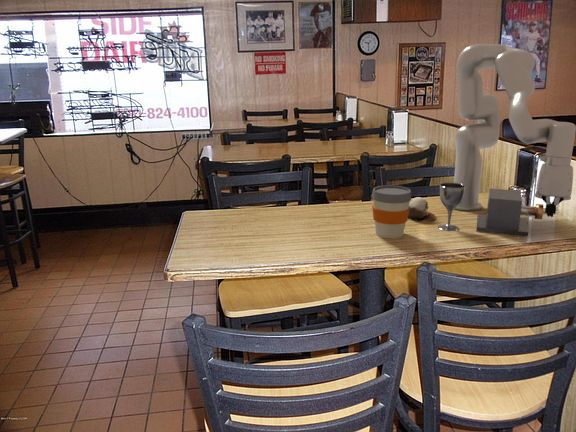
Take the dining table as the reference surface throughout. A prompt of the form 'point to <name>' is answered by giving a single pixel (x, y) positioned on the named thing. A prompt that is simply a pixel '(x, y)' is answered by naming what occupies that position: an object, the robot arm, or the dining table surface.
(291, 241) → the dining table surface
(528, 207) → the shaft
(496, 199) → the block
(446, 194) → the wine glass
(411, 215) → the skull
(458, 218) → the dining table surface
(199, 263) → the dining table surface
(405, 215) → the reusable coffee cup
